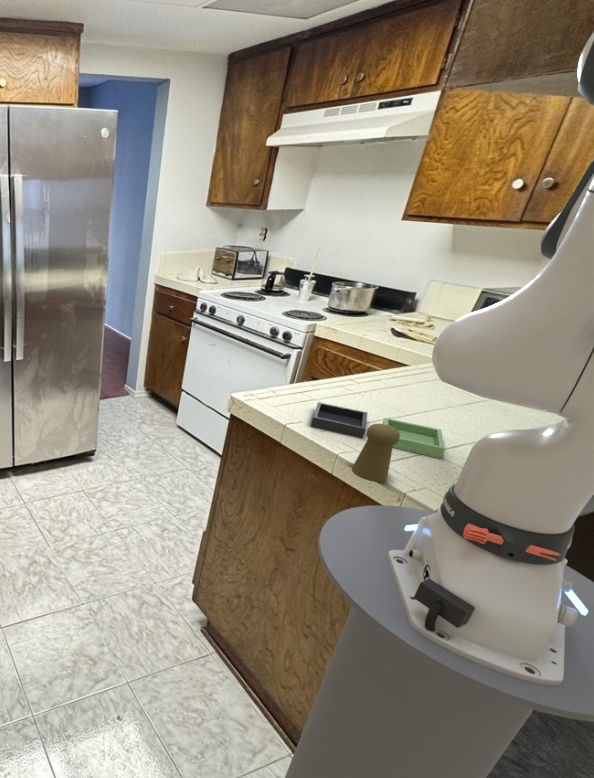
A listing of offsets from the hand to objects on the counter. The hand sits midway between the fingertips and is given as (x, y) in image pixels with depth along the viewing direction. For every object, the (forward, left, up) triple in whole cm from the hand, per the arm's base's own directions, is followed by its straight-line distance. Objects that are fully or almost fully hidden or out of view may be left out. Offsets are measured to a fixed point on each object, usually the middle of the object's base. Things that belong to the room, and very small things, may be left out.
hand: (486, 374), depth 84 cm
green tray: (+16, +5, -23) cm, 29 cm away
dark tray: (+17, +19, -23) cm, 34 cm away
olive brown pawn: (-5, +12, -23) cm, 26 cm away
